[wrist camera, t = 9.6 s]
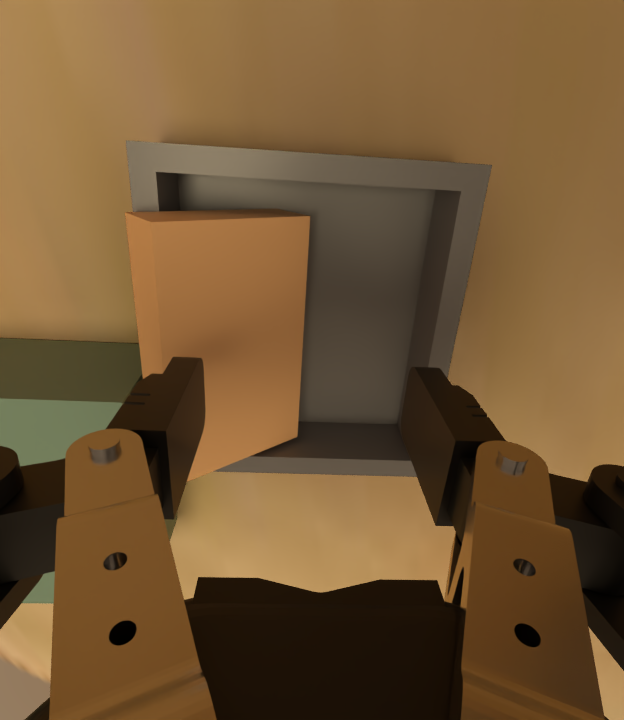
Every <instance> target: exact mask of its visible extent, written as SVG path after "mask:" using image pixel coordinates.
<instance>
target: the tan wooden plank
mask: <svg viewBox="0 0 624 720" xmlns="http://www.w3.org/2000/svg"><path fill="white" fill-rule="evenodd" d="M125 217H126V226H127V235H128V245H129V254H130V263H131V272H132V282H133V291H134V300H135V310H136V319H137V328H138V338H139V347H140V356H141V366H142V375H143V379H144V378H145V377H147V376H149V375H150V374H152V373H153V374H163V372H164V371H165V369H166V367H167V366H168V364H169V362H170V361H171V359H172V357H197V358H202V360H203V365H204V386H205V409H206V412H205V425H204V430H203V433H202V437H201V440H200V443H199V446H198V449H197V452H196V455H195V458H194V461H193V464H192V467H191V470H190V473H189V476H188V479H187V482H188V481H190V480H193V479H195V478H198V477H200V476H203V475H205V474H208V473H210V472H212V471H215V470H217V469H220V468H222V467H225V466H227V465H230V464H232V463H234V462H237V461H239V460H242V459H244V458H247V457H249V456H252V455H254V454H256V453H259V452H261V451H264V450H266V449H269V448H271V447H274V446H276V445H278V444H281V443H283V442H286V441H288V440H291V439H293V438H296V437H297V435H298V418H299V401H300V383H301V366H302V349H303V332H304V315H305V298H306V281H307V263H308V246H309V229H310V216H307V215H303V214H298V213H294V212H289V211H285V210H280V209H240V210H199V211H158V212H125Z"/></svg>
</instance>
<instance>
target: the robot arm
mask: <svg viewBox="0 0 624 720" xmlns="http://www.w3.org/2000/svg"><path fill="white" fill-rule="evenodd" d="M205 412H206V409H205V386H204V365H203V360H202V358H197V357H172V359H171V361H170V362H169V364H168V366H167V367H166V369H165V371H164V372H163V374H153V373H152V374H150V375H149V376H147V377H145V378H144V379H142V380H141V381H139V382H137V384H136V385H135V387H134V388H133V390H132V391H131V393H130V395H129V396H128V397H127V398H126V400H125V401H124V404H122V406H121V407H120V409H119V410H118V412H117V413H116V415H115V416H114V417H113V419H112V420H111V422H110V423H109V425H108V426H107V428H106V429H105V430H99V431H96V432H92V433H89V434H87V435H85V436H83V437H81V438H79V439H78V440H76V441H75V442H74V443H72V444H71V445H70V447H69V448H68V449H67V451H66V456H65V458H64V459H60V460H55V461H50V462H44V463H38V464H32V465H26V466H20V463H19V459H18V455H17V453H16V452H15V451H14V450H12V449H10V448H8V447H3V446H0V629H1V628H2V627H3V625H4V624H5V623H6V622H7V620H8V619H9V618H10V617H11V615H12V614H13V613H14V612H15V611H16V609H17V608H18V607H19V606H20V604H21V603H22V602H23V601H24V599H25V598H26V597H27V596H28V594H29V593H30V592H31V591H32V589H33V588H34V587H35V586H36V585H37V583H38V582H39V581H40V579H41V578H42V576H43V574H45V573H49V572H54V571H55V579H54V606H53V632H52V659H51V685H50V698H48V699H47V700H46V701H45V702H44V703H43V704H42V705H41V706H39V707H38V708H37V709H36V710H35V711H34V712H33V713H32V714H30V715H29V716H28V717H27V718H26V719H25V720H609V719H607V718H606V717H605V716H604V712H603V707H602V701H601V695H600V690H599V684H598V679H597V673H596V667H595V662H594V656H593V650H592V645H591V639H590V633H589V628H590V629H591V630H592V631H593V633H594V634H595V635H596V637H597V638H598V639H599V640H600V642H601V643H602V644H603V645H604V647H605V648H606V649H607V650H608V652H609V653H610V654H611V655H612V657H613V658H614V659H615V660H616V662H617V663H618V664H619V665H620V667H621V668H622V669H623V671H624V467H623V466H618V465H609V464H608V465H599V466H597V467H595V468H594V469H593V470H592V472H591V474H590V477H589V479H588V482H584V481H580V480H575V479H571V478H566V477H562V476H558V475H554V474H550V473H549V472H548V467H547V465H546V463H545V462H544V460H543V459H542V458H541V457H540V456H539V455H537V454H536V453H534V452H533V451H531V450H530V449H528V448H526V447H523V446H521V445H518V444H515V443H512V442H507V441H506V440H505V439H504V438H503V436H502V435H501V434H500V432H499V431H498V429H497V428H496V427H495V425H494V424H493V423H492V421H491V420H490V418H489V417H487V414H486V413H485V412H484V410H483V409H482V408H480V405H479V403H478V402H477V401H476V399H475V398H474V397H473V395H471V394H470V393H468V392H467V391H465V390H464V389H462V388H461V387H460V386H455V385H451V383H450V382H449V380H448V379H447V377H446V376H445V374H444V373H443V372H442V370H441V369H440V368H435V367H411V369H410V371H409V375H408V380H407V386H406V392H405V398H404V404H403V410H402V416H401V433H402V438H403V441H404V443H405V446H406V448H407V451H408V454H409V456H410V459H411V462H412V464H413V467H414V470H415V472H416V475H417V478H418V480H419V483H420V486H421V488H422V491H423V494H424V496H425V499H426V502H427V504H428V507H429V510H430V512H431V515H432V518H433V520H434V523H435V525H436V526H454V529H455V531H456V533H455V537H454V541H453V545H452V550H451V557H450V564H449V571H448V578H447V585H446V592H445V598H444V599H443V596H442V593H441V590H440V587H439V584H438V581H437V580H376V581H372V582H368V583H363V584H359V585H355V586H350V587H346V588H342V589H337V590H333V591H329V592H323V593H318V592H312V591H308V590H304V589H300V588H296V587H292V586H288V585H284V584H280V583H276V582H272V581H268V580H264V579H260V578H215V577H198V581H197V585H196V589H195V594H194V598H191V599H187V600H184V598H183V594H182V590H181V586H180V582H179V578H178V574H177V569H176V565H175V561H174V557H173V553H172V549H171V545H170V541H169V537H168V532H167V528H166V524H165V520H164V519H168V520H174V518H175V515H176V512H177V509H178V506H179V503H180V500H181V497H182V494H183V491H184V488H185V485H186V482H187V479H188V476H189V473H190V470H191V467H192V464H193V461H194V458H195V455H196V452H197V449H198V446H199V443H200V440H201V437H202V433H203V430H204V425H205ZM588 626H589V628H588Z"/></svg>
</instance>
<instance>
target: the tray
mask: <svg viewBox="0 0 624 720" xmlns="http://www.w3.org/2000/svg"><path fill="white" fill-rule="evenodd" d="M126 148H127V158H128V167H129V177H130V187H131V197H132V207H133V212H158V211H199V210H240V209H280V210H285V211H289V212H294V213H298V214H303V215H307V216H310V229H309V246H308V263H307V281H306V298H305V315H304V332H303V349H302V366H301V383H300V401H299V418H298V435H297V437H296V438H293V439H291V440H288V441H286V442H283V443H281V444H278V445H276V446H274V447H271V448H269V449H266V450H264V451H261V452H259V453H256V454H254V455H252V456H249V457H247V458H244V459H242V460H239V461H237V462H234V463H232V464H230V465H227V466H225V467H222V468H220V469H217V470H215V471H217V472H255V473H293V474H331V475H369V476H407V477H417V475H416V472H415V470H414V467H413V464H412V462H411V459H410V456H409V454H408V451H407V448H406V446H405V443H404V441H403V438H402V433H401V416H402V410H403V404H404V398H405V392H406V386H407V380H408V375H409V371H410V369H411V367H435V368H440V369H441V370H442V372H443V373H444V374H445V376H446V377H448V372H449V367H450V363H451V358H452V353H453V348H454V344H455V339H456V334H457V329H458V325H459V320H460V315H461V310H462V306H463V301H464V296H465V291H466V287H467V282H468V277H469V272H470V267H471V263H472V258H473V253H474V248H475V244H476V239H477V234H478V229H479V225H480V220H481V215H482V210H483V206H484V201H485V196H486V191H487V187H488V182H489V177H490V172H491V168H492V165H484V164H469V163H455V162H440V161H425V160H410V159H395V158H380V157H365V156H350V155H335V154H320V153H305V152H290V151H275V150H261V149H246V148H231V147H216V146H201V145H186V144H171V143H156V142H141V141H126Z"/></svg>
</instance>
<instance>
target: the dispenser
mask: <svg viewBox="0 0 624 720" xmlns="http://www.w3.org/2000/svg"><path fill="white" fill-rule="evenodd" d="M142 379H143V375H142V366H141V356H140V347H139V344H132V343H108V342H84V341H60V340H36V339H12V338H0V446H3V447H8V448H10V449H12V450H14V451H15V452H16V453H17V455H18V459H19V463H20V466H26V465H32V464H38V463H44V462H50V461H55V460H60V459H64V458H65V456H66V451H67V449H68V448H69V447H70V445H71V444H72V443H74V442H75V441H76V440H78V439H79V438H81V437H83V436H85V435H87V434H89V433H92V432H96V431H99V430H105V429H106V428H107V426H108V425H109V423H110V422H111V420H112V419H113V417H114V416H115V415H116V413H117V412H118V410H119V409H120V407H121V406H122V404H124V401H125V400H126V398H127V397H128V396H129V395H130V393H131V391H132V390H133V388H134V387H135V385H136V384H137V382H139V381H141V380H142ZM164 520H165V524H166V528H167V532H168V537H169V541H170V539H171V536H172V532H173V529H174V526H175V523H176V520H177V512H176V515H175V518H174V520H168V519H164ZM54 579H55V571H54V572H49V573H45V574H43V576H42V578H41V579H40V581H39V582H38V583H37V585H36V586H35V587H34V588H33V589H32V591H31V592H30V593H29V594H28V596H27V597H26V598H25V599H24V601H23V602H22V603H54Z"/></svg>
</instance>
